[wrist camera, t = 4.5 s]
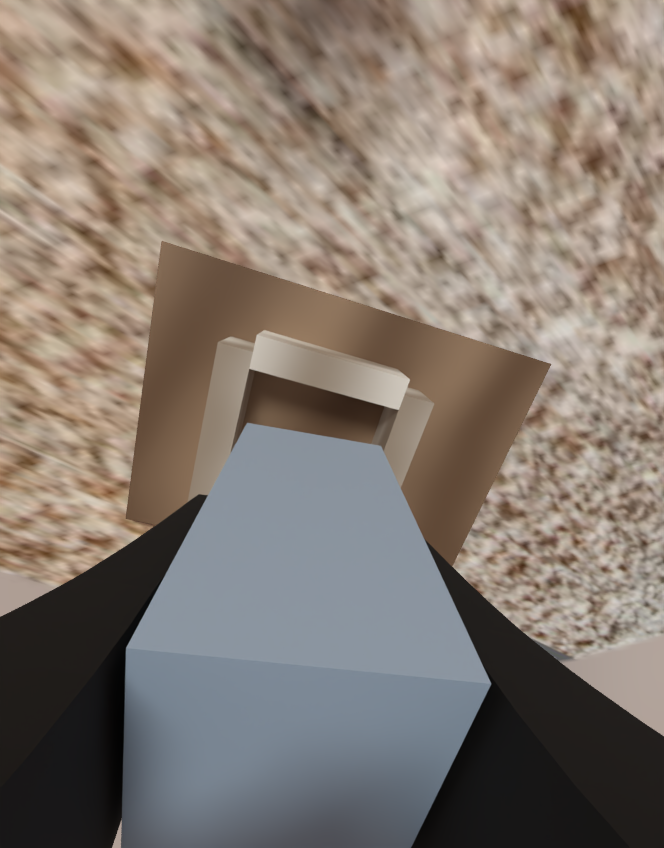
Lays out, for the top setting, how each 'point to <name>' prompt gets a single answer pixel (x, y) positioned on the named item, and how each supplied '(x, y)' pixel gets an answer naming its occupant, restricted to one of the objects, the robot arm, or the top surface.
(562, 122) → the top surface
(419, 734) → the pale blue square prism
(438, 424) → the well
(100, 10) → the top surface
